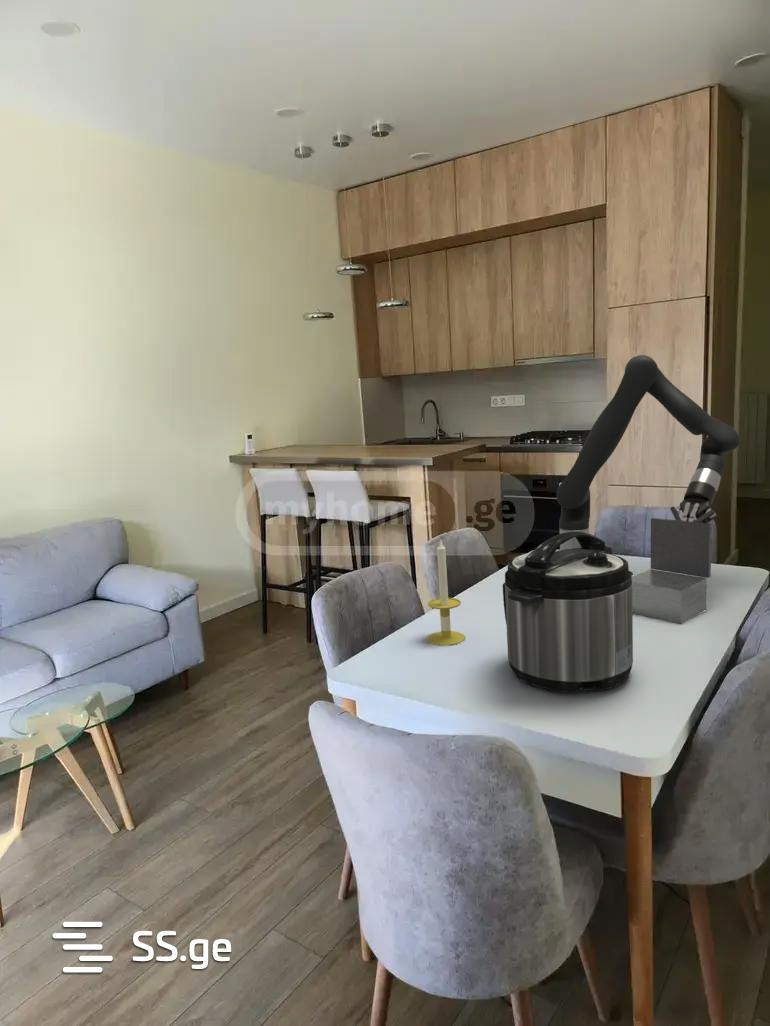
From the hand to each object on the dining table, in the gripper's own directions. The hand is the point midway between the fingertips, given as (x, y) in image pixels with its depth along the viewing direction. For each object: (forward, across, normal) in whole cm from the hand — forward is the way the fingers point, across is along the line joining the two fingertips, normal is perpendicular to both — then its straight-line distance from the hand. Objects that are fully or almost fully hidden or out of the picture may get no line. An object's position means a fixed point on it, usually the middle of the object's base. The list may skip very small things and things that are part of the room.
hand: (682, 537), depth 187 cm
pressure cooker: (+55, +2, -30) cm, 63 cm away
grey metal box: (+20, 0, +6) cm, 21 cm away
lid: (+3, 0, 0) cm, 3 cm away
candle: (+57, -33, -32) cm, 73 cm away
